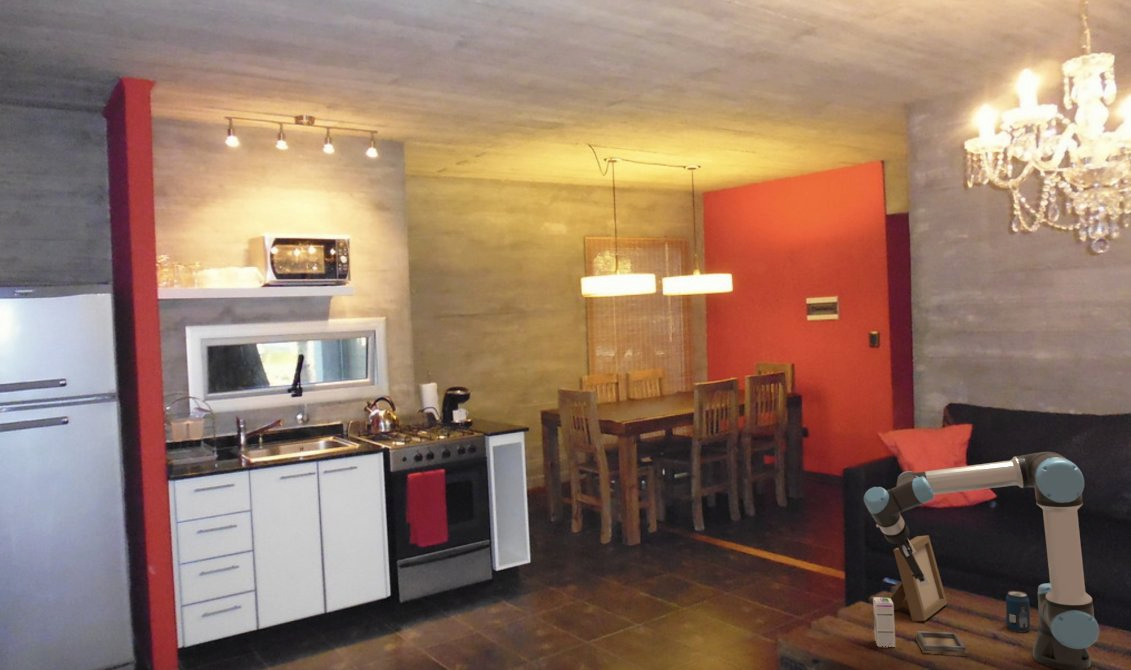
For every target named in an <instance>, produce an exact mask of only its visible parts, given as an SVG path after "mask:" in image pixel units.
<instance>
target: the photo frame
mask: <svg viewBox="0 0 1131 670" xmlns="http://www.w3.org/2000/svg"><path fill="white" fill-rule="evenodd" d="M909 541H910V543H911V544H912V546H913V548H914V549H915V551H916V552H915V553H913V556H914V558H915V560H916V562H917V563H918V565H919V567H920V569H921V570H922V571H923V573H924V575H925V576H926V578H927V580H928V581H929V583H930V584H928V585H926V586H923V587H921V585H920V584H919V582H918V580H917V579H915V577H912V575H913V573H912V571H911V569H910V567H909V565H908V563H907V562H906V560H905V558H904V556H903V555H902V554H901V552H900V550H899V548H897V547H896V548H894V549H893V555H894V556H895V557H894V558H895V560H896V565H897V568H898V572H899V576H900V580H901V583H900V584H899V586H898V587H897V588H896V590H895V591H894V592H893V593H892V594H891V596H890V597H889V598H891V600H892V602H893V605H894V611H897V610H900V609H901V608H902V605H903V603H904V601H905V599H906V602H907V606H908V610H909V614H910V616H911V617H910V618H911V620H912V622H924V621H926V620H928V619H929V618H930V617H932V616H933V615H934V614H935V613H937V612H938V611H940V610H941V609H942V608H943V607H944V606H945V605H947V604H948V601H947V597H946V593H945V589H944V587H943V586H944V585H943V583H942V579H941V576H940V571H939V569H938V565H937V560H936V557H935V553H934V550H933V546H932V543H931V538H930V535H919V536H918V535H917V536H915V537H913V538H912V539H910V540H909ZM901 550H902V549H901ZM902 551H903V550H902Z"/></svg>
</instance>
